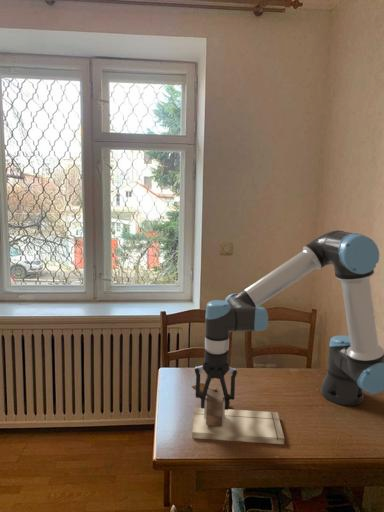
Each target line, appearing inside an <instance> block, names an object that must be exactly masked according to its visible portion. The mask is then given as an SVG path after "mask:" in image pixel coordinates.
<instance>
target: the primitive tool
mask: <svg viewBox="0 0 384 512" xmlns="http://www.w3.org/2000/svg"><path fill="white" fill-rule="evenodd" d="M204 384H205V383H203V382H200V392H201V393H202V391H203V388H204ZM191 388H192V389H194V390H195V391H196V384H195V385H192V386H191ZM208 389H210V388H209V387H208ZM206 396H207V393H206ZM230 401H231V400H229V404H228V408H229V406H230V404H231V402H230Z"/></svg>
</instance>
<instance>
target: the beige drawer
mask: <svg viewBox="0 0 384 512" xmlns="http://www.w3.org/2000/svg"><path fill="white" fill-rule="evenodd" d="M223 397H224V394H223V390H222V388H219V389H218V388H217V387H214V388H209V389H208V390H207V410H206V425H214V426H222V412H223Z"/></svg>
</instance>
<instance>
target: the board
mask: <svg viewBox="0 0 384 512" xmlns="http://www.w3.org/2000/svg"><path fill="white" fill-rule="evenodd" d="M194 407H195V408H194V414H193V423H192V434H191V439H201V440H203V439H204V440H215V441H216V440H217V441H229V442H243V443H245V442H246V443H257V444H258V443H259V444H260V443H261V444H262V443H263V444H273V445H274V444H277V445H285V436H284V431H283V429H282V424H281V422H280V417H279V413H278V411H263V410H262V411H260V410H247V409H245V410H243V409H230V408H228V410H225V415H224V420H222V426H214V425H206V419H204V408H201V406H200V407H196V406H194Z"/></svg>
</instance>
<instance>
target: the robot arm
mask: <svg viewBox="0 0 384 512" xmlns="http://www.w3.org/2000/svg"><path fill="white" fill-rule="evenodd" d="M378 247H379V246H378V245H377V242H375V241H374V240H373V239H372V238H371V237H368V236H365V235H364V234H361V233H356V232H349V231H344V230H332V231H328V232H325V233H324V234H322V235H320V236H318V237H317V238H315V239H313V240H312V241H310V242H309V243H307V244H306V245H303V247H302V251H301V252H298V254H296V255H294V256H293V257H291V258H290V259H288V260H287V261H286V262H284V263H282V264H281V265H279V266H278V267H276V268H275V269H273V270H272V271H270V272H269V273H268V274H266V275H264V276H263V277H261V278H260V279H258V280H257V281H255V282H254V283H252V284H251V285H250V286H248V287H246V288H245V289H243V290H241V291H240V292H239V293H231V294H229V295H227V296H226V297H225V299H223V300H221V299H214V300H210V301H208V302H207V303H206V305H205V306H206V308H205V316H204V317H205V323H204V324H205V326H204V327H205V328H204V329H205V331H204V354H203V355H204V360H203V363H202V365H195V367H194V374H195V376H196V377H195V378H196V379H195V385H196V390H195V398H196V399H200V408H204V419H206V410H207V396H206V393H207V390H208V388H209V386H210V384H211V382H212V379H213V380H214V379H217V380H219V381H220V386H221V389H222V390H223V412H222V420H224V415H225V410H228V409H229V407H228V404H229V401H231V400H232V401H233V400H235V393H236V391H235V389H236V376H237V374H238V370H237V367H232V366H230V365H229V349H230V348H229V347H230V333H235V332H236V333H237V332H260V331H265V330H266V329H267V328H268V325H269V313H268V311H267V309H266V308H265V307H264V306H261V305H262V304H265V303H266V302H267V301H269V300H271V298H273V297H275V296H276V295H277V294H279V293H281V292H282V291H284V290H285V289H287V288H288V287H290V286H291V285H293V284H294V283H296V282H297V281H299V280H301V279H302V278H303V277H305V276H306V275H308V274H309V273H312V272H313V271H315V270H322V269H323V268H324V267H326V266H328V265H333V269H334V276H335V279H337V280H339V281H340V284H341V291H342V297H343V303H344V304H343V306H344V312H345V317H346V325H347V331H348V335H346V334H345V335H334V336H331V338H330V341H329V344H328V347H329V348H328V358H327V370H326V375H325V376H324V378H323V381H322V383H321V387H320V393H321V395H322V397H324V398H325V399H326V400H328V401H329V402H332V403H335V404H338V405H341V406H349V407H350V406H357V405H359V404H360V405H361V404H362V403H363V401H364V392H366V393H368V394H371V395H376V394H380V393H381V394H382V393H383V392H384V348H383V347H382V346H381V345H379V341H378V340H379V339H378V335H377V325H376V318H375V317H376V316H375V311H374V305H373V304H374V303H373V295H372V287H371V286H372V285H371V280H370V279H371V277H373V276H374V274H375V270H374V269H376V267H377V264H378V263H379V260H380V250H379V248H378ZM203 371H204V372H205V374H206V377H205V382H204V383H203V384H204V388H203V391H202V393H201V392H200V383H201V374H202V373H203ZM228 372H229V375H230V393H229V391H228V387H227V384H226V383H227V382H226V379H225V376H226V374H227V373H228ZM361 402H362V403H361ZM229 405H230V404H229Z"/></svg>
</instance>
